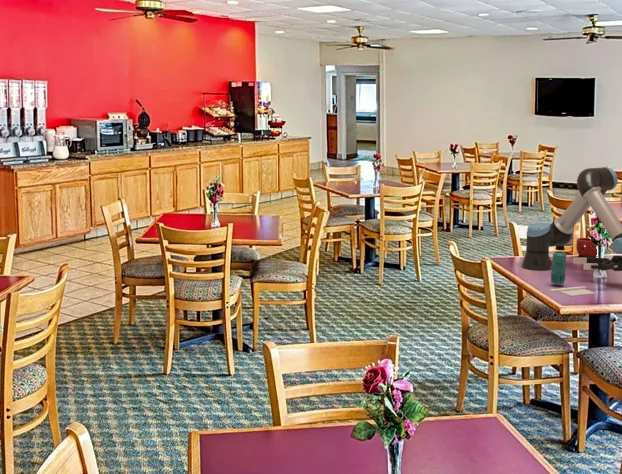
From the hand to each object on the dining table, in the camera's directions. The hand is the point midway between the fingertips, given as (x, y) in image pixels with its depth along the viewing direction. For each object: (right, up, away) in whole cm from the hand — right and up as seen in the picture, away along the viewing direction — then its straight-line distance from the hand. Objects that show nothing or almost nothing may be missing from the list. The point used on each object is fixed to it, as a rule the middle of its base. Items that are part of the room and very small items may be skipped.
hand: (578, 263), depth 383 cm
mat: (-4, -13, -12) cm, 19 cm away
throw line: (-7, -12, -6) cm, 15 cm away
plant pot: (+26, 0, +61) cm, 67 cm away
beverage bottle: (-10, -11, +2) cm, 15 cm away
